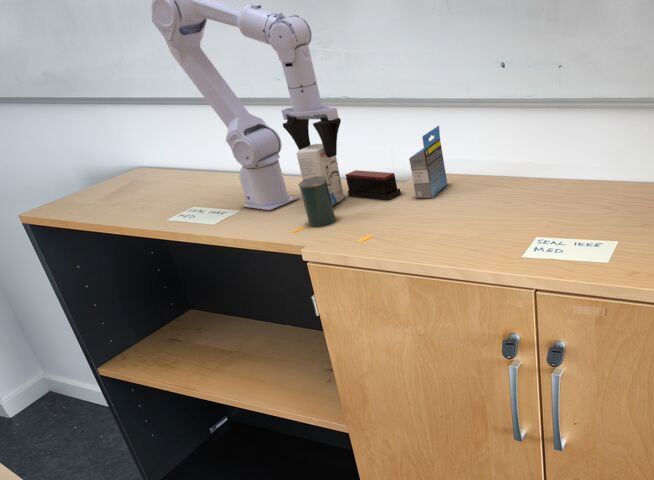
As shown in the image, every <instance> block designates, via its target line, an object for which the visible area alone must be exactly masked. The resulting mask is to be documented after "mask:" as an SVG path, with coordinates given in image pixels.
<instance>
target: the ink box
mask: <svg viewBox="0 0 654 480" xmlns="http://www.w3.org/2000/svg"><path fill="white" fill-rule="evenodd" d="M296 158H297V162H298V167H299V170H300V174H301V179H302V181H304V180H307V179H311V178H317V177H324V178H326V179H327V185H328V189H329V193H330V198H331V202H332V206H333V207H334V206H335V205H337V204H338V203H339V202H341V201H342V200H344V199H345V193H344V189H343V185H342V180H341V175H340V169H339V165H338V159H337V155H335V156H333V157H330V158H327V156H326V154H325V151H324V147H323V144H322V143H313V144H310V146H308V147H306V148H303V149H301V150H299V149H298V150H297V152H296Z"/></svg>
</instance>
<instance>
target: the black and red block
mask: <svg viewBox="0 0 654 480" xmlns="http://www.w3.org/2000/svg"><path fill="white" fill-rule="evenodd" d="M396 179H397V178H396V175H395V172H383V171H373V170H372V171H371V170H358V169H357V170H353V171H350V172H348V173H346V174H345V180H346V184H347V188H348V190H347V194H348V197H355V198H363V199H365V198H366V199H374V200H384V201H390V200H392V199H394V198H396V197H398V196H400V195H402V191H401V188H398V184H397V180H396Z"/></svg>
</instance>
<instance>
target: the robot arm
mask: <svg viewBox="0 0 654 480" xmlns="http://www.w3.org/2000/svg"><path fill="white" fill-rule="evenodd" d="M150 6H151V7H150V8H151V23H152V24H153V25H154V26H155V28H156V29H157V30H158V32H159V33H160V34H161V35H162V37H163V39H164V40H165V42H166V45H167V47H168V50H169V52H170V54H171V55H172V57H173V58H174V59H175V61H176V62H177V63H178V65H179V66H180V67H181V69H182V70H183V72H184V73H185V74H186V75H187V77H188V78H189V79H190V81H191V82H192V83H193V85H194V86H195V87H196V88H197V90H198V91H199V92H200V94H201V95H202V97H203V98H204V99H205V100H206V102H207V103H208V104H209V106H210V107H211V108H212V110H213V111H214V112H215V114H216V115H217V116H218V117H219V119H220V120H221V121H222V122H223V124H224V126H225V127H226V128H227V133H226V137H225V142H226V143H227V144H228V146H229V148H230V150H231V152H232V155H233V157H234V159H235V161H236V162H237V163H238V164H239V165H241V167H240V170H239V174H238V176H239V178H238V179H239V181H240V185H241V188H242V192H243V195H244V198H245V201H246V203H245V204H243V206H244V208H251V209H258V210H264V211H273V210H274V209H277V208H279V207H282V206H284V205H287V204H288V203H291V202H294V201H296V200H298V196H293V195H289V194H288V193H289V192H288V191H287V190H288V189H287V186H286V182H285V179H284V174H283V171H282V167H281V163H280V160H279V159H280V152H281V150H282V145H283V144H282V139H281V137H280V134H279V133H278V132H277V131H276V130H275V129H274V128H272V127H271V126H269V125H268V124H267V123H266V122H265V121H264V119H263V118H261V117H259V116H256V115H254V114H251V113H250V112H249V111H248V109H247V108H246V106H245V105H244V104H243V102H242V101H241V100H240V99H239V98H238V97H239V96H237V95H236V93H235V92H234V91H233V89H232V88H231V87H230V85H229V84H228V83H227V81H226V80H225V79H224V77H223V76H222V74H221V73H220V72H219V71H218V69H217V68H216V67H215V65H214V64H213V62H212V61H211V60H210V59H209V57H208V56H207V54H206V53H205V52H204V50H203V49H202V48H201V41H202V40H203V37H204V33H205V30H206V26H207V22H208V20H210V21H214V22H216V23H222V24H225V25H228V26H232V27H236V28H238V29H239V31H240V33H241V35H243V37H246V38H249V39H251V40H255V41H257V42H261V43H264V44H266V45H269V46H271V48H272V49H273V50H274V51H275V52H276V54H277V57H278V60H279V61H280V63H281V66H282V70H283V74H284V78H285V82H286V86H287V90H288V94H289V95H288V96H289V98H290V102H291V106H292V107H288V108H287V107H286V108H283V109H281V110H280V111H281V114H282V118H283V120H284V121H286V122H284V123H282V127H283V128H284V129H285V131H286V132H287V133H288V134H289V135H290V137H291V138H292V140H293V141H294V144H295V145H296V147H297V149H298V150H301V149H303V148H306V147H308V146H310V145H311V140H310V139H311V138H310V133H309V129H310V127H309V125H310V124H309V123H310V120H319V121H316V122H313V123H312V126H313V128H314V130H316V132H317V135H318V136H319V138H320V141H321V144H323V147H324V151H325V154H326V156H327V158H330V157H333V156H335V155H336V156H337V152H338V150H337V149H338V147H337V146H338V133H339V129H340V125H341V122H342V120H341V118H340V117H339V114H338V113H339V112H338V109H337V107H330V106H326V104H325V103H324V104H323V103H322V99H321V95H320V91H319V86H318V82H317V77H316V73H315V68H314V63H313V60H312V55H311V51H310V47H309V45H310V44H311V42H312V38H313V37H312V36H313V35H312V29H311V26H310V24H309V23H308V21H307V20H305V18H303V17H300V16H299V15H298V14H293V15H290V16H288V17H286V16H285V15H284V13H283V12H282V11H280V10H277V11H271V10H268V9H265V8H262V4H261V3H258V2H254V3H253V2H252V3H251V4H247V5H245V6H244V7H243V8H241V7H238V6H235V5H233V4H232V3H231V4H230V3H228V2H225V1H223V0H152V1H151V5H150Z"/></svg>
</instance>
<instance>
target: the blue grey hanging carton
mask: <svg viewBox="0 0 654 480" xmlns="http://www.w3.org/2000/svg"><path fill="white" fill-rule="evenodd" d="M431 137H433V138H432V139H431V140H430V138H431ZM421 138H422V144H423V147H422V148H421V149H420V150H418V151H417V152H415V154H413V155H411V156H410V157H409V159H408V160H409V165H410V171H411V177H412V182H413V188H414V193H415V194H414V195H415V199H433V198H434V197H435V196H436V195H438V193H439V192H440V191H441V190H442V189H444V188H445V187H446V186H447V185H448V180H447V174H446V165H445V160H444V154H443V149H442V143H441V133H440V125H437V126H436V127H434V128H433V129H431V130H429V131H428V132H427V133H425V134H424V135H422V137H421Z"/></svg>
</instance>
